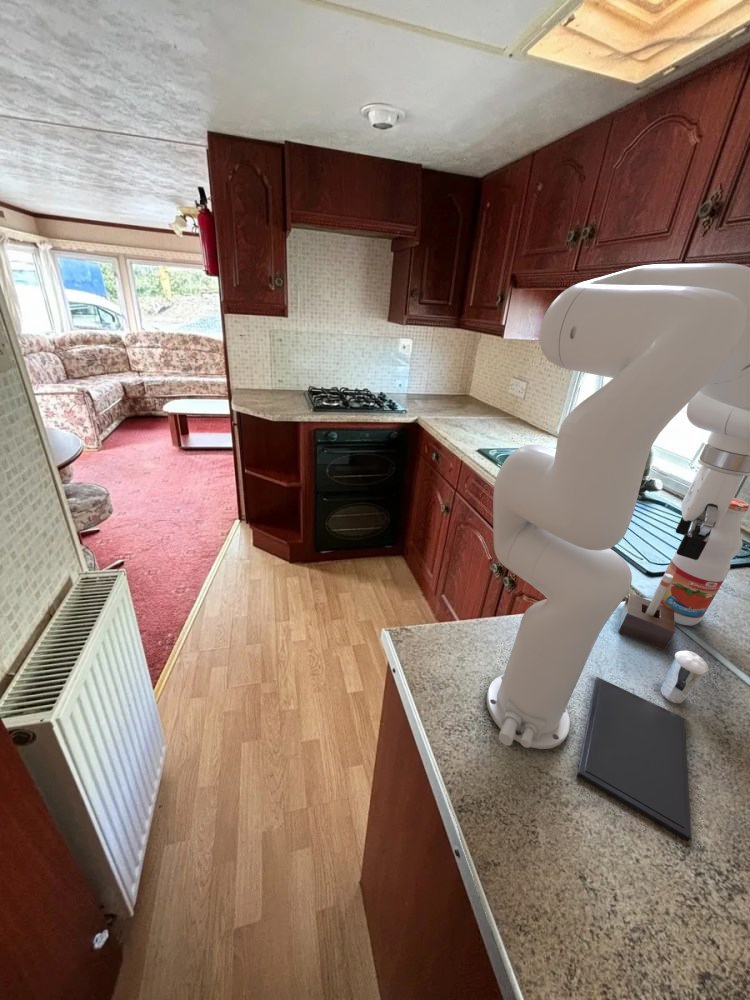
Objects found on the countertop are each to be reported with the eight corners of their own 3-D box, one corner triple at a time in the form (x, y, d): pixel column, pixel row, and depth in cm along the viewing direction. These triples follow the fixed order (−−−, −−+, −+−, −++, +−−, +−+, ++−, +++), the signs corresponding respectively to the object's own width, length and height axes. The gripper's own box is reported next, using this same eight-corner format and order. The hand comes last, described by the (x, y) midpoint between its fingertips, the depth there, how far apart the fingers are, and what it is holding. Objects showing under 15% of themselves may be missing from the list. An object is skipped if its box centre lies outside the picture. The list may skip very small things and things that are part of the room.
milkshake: (677, 713, 66) (704, 671, 62) (650, 686, 71) (673, 644, 67) (697, 709, 68) (726, 666, 63) (669, 682, 72) (693, 641, 68)
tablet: (688, 842, 50) (691, 837, 49) (576, 776, 56) (578, 771, 55) (682, 722, 65) (685, 717, 65) (595, 680, 71) (597, 675, 71)
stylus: (645, 633, 84) (673, 578, 77) (637, 630, 84) (664, 575, 78) (645, 629, 85) (673, 575, 79) (637, 626, 85) (664, 572, 79)
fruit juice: (684, 601, 95) (742, 494, 83) (708, 630, 86) (778, 515, 74) (642, 595, 95) (694, 487, 83) (662, 622, 87) (723, 507, 75)
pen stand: (664, 651, 79) (675, 632, 77) (618, 632, 83) (627, 613, 81) (664, 627, 86) (674, 609, 83) (621, 610, 89) (629, 592, 87)
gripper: (698, 442, 76) (662, 521, 84) (705, 466, 63) (661, 558, 70) (748, 452, 73) (706, 534, 80) (767, 480, 59) (714, 575, 67)
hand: (685, 545), depth 75 cm, fingers open, 9 cm apart
